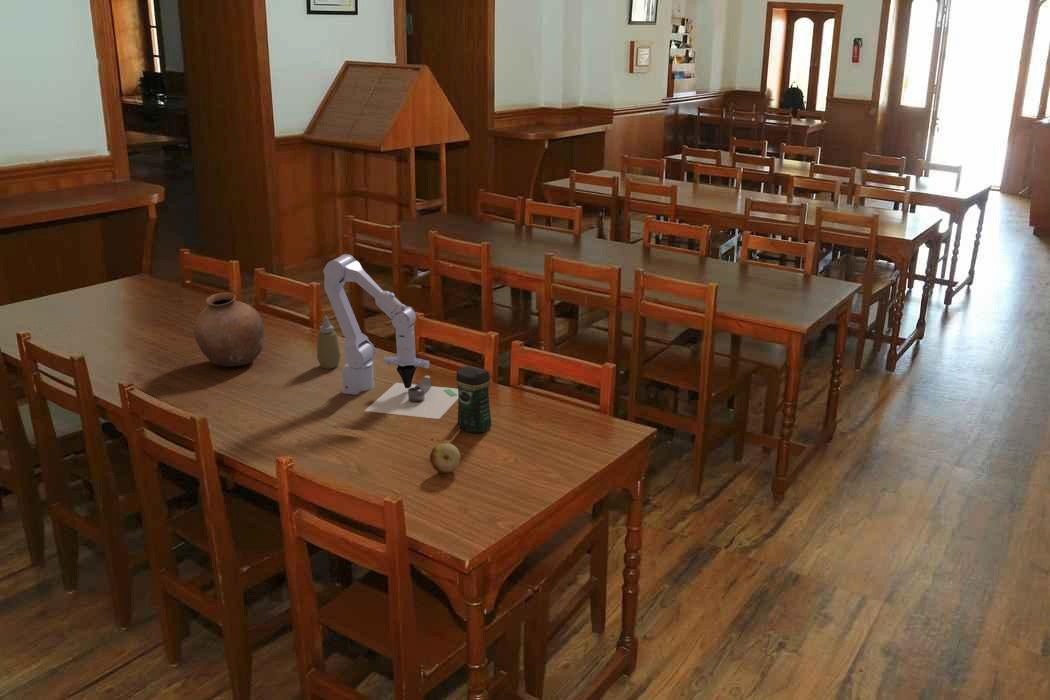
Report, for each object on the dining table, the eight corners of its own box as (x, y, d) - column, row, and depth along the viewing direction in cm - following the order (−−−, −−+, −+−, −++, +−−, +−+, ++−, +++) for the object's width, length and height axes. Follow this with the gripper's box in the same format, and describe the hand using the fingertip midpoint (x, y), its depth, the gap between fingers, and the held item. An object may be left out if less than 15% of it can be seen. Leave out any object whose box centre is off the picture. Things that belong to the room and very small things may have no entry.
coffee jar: (496, 427, 278) (494, 367, 271) (477, 436, 272) (475, 375, 266) (471, 419, 283) (469, 360, 277) (453, 427, 278) (450, 368, 272)
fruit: (426, 476, 248) (424, 448, 246) (439, 463, 256) (438, 436, 253) (452, 481, 246) (451, 452, 243) (465, 467, 253) (464, 440, 251)
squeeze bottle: (313, 368, 325) (308, 318, 319) (326, 361, 332) (322, 312, 326) (333, 371, 322) (329, 321, 316) (346, 364, 329) (342, 314, 323)
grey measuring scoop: (421, 402, 291) (420, 390, 290) (405, 401, 292) (405, 389, 291) (435, 388, 302) (435, 376, 301) (421, 386, 304) (420, 375, 302)
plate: (364, 415, 287) (364, 410, 286) (396, 386, 309) (396, 382, 308) (439, 423, 281) (439, 418, 280) (466, 394, 302) (466, 389, 302)
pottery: (264, 349, 345) (257, 282, 336) (269, 370, 324) (261, 300, 316) (198, 356, 338) (189, 289, 330) (199, 379, 317) (189, 307, 309)
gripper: (379, 348, 294) (381, 389, 299) (422, 352, 290) (424, 393, 295) (388, 341, 301) (390, 381, 305) (431, 345, 297) (433, 385, 301)
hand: (408, 387), depth 300 cm, fingers closed
